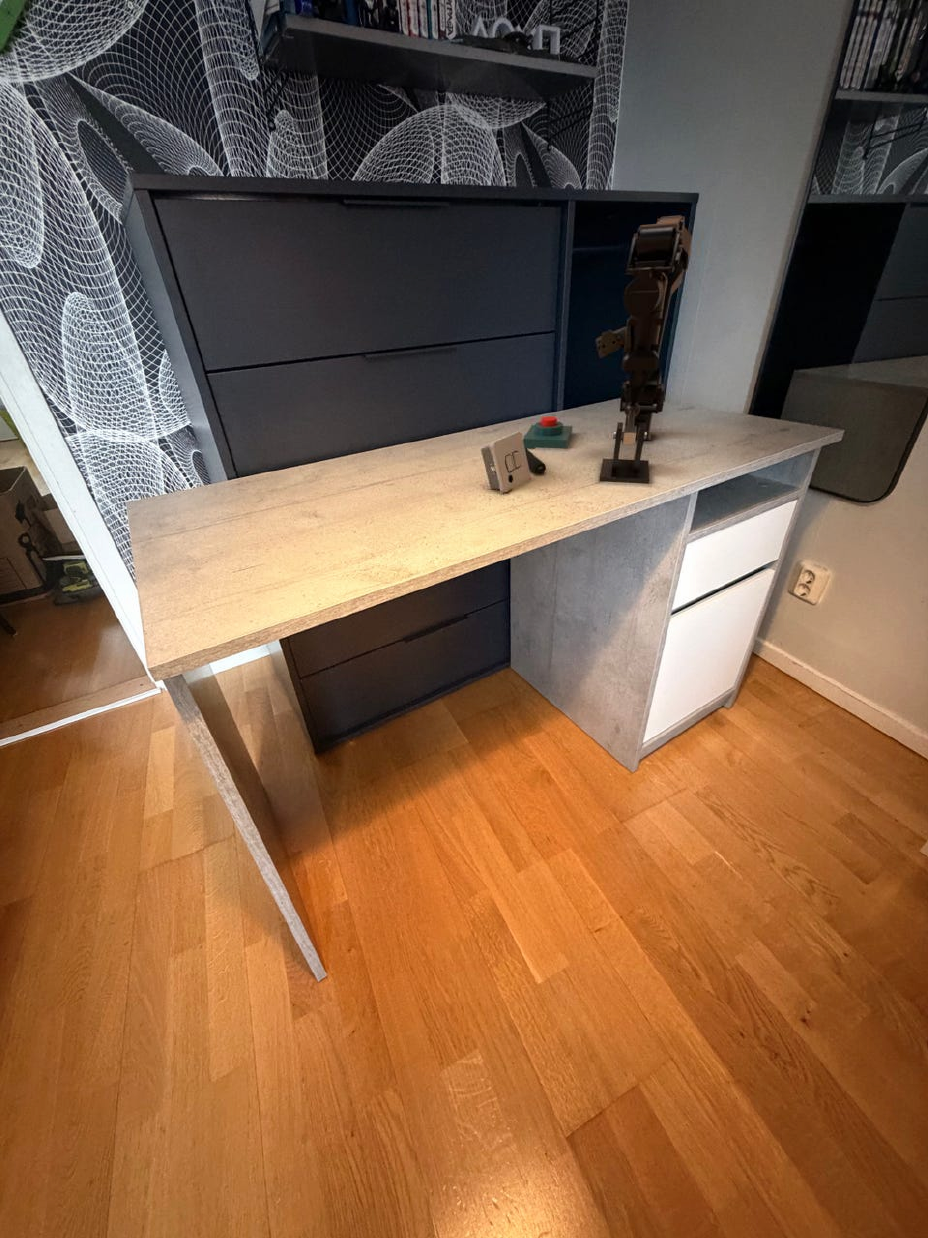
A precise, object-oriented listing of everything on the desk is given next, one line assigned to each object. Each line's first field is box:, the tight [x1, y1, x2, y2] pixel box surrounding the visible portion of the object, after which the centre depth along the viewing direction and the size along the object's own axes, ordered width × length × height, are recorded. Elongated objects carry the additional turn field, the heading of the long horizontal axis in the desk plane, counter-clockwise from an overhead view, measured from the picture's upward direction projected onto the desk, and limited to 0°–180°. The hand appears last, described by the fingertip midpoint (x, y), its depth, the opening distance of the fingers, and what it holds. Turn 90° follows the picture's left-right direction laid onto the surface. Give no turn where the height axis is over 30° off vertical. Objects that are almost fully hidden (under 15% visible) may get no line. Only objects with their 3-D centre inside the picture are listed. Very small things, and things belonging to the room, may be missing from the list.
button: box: [540, 416, 558, 427], centre depth 114 cm, size 4×4×2 cm
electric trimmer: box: [524, 447, 547, 473], centre depth 103 cm, size 4×16×3 cm, turn 16°
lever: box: [622, 402, 640, 446], centre depth 96 cm, size 14×3×3 cm, turn 164°
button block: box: [522, 420, 573, 450], centre depth 116 cm, size 12×10×4 cm
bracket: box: [599, 421, 650, 485], centre depth 94 cm, size 11×9×9 cm
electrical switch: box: [480, 431, 531, 494], centre depth 94 cm, size 9×5×9 cm, turn 141°
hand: (633, 401), depth 99 cm, fingers closed, pressing on lever
